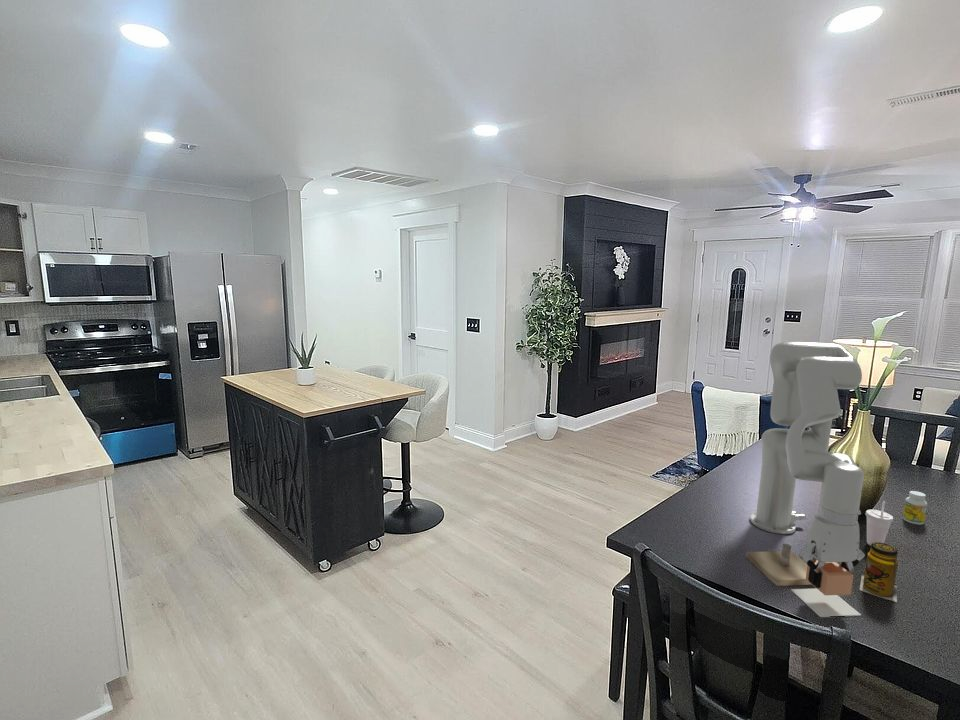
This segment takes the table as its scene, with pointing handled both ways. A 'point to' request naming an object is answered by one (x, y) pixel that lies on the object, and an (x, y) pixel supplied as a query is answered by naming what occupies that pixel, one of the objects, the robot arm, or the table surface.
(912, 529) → the table surface
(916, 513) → the supplement bottle
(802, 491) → the table surface
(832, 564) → the peach open box
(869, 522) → the smoothie
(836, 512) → the robot arm
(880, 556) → the condiment
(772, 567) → the stand
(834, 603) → the mat
